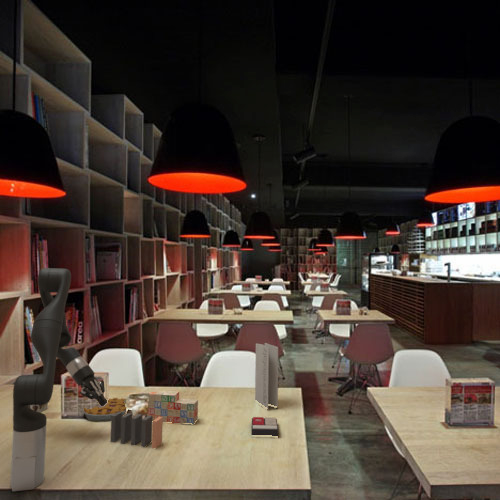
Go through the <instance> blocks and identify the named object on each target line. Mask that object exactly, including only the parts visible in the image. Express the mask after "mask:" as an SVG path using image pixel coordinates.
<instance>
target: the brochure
mask: <svg viewBox="0 0 500 500" xmlns="http://www.w3.org/2000/svg"><path fill="white" fill-rule="evenodd" d="M254 367H255V371H254V372H255V375H254V376H255V377H254V378H255V379H254V382H255V384H254V385H255V386H254V391H255V392H254V401H255V400H257V401H258V402H259V403H261V404H262V405H264V406H265V407H267V408H268V409H269V407H268V404H271V405H274V406H277V407H279V406H278V405H279V400H278V396H279V389H278V388H279V386H278V385H279V347H278V346H276V345H272V344H269V343H267V342H264V344H261V343H255V366H254Z"/></svg>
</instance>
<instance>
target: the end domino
mask: <svg viewBox="0 0 500 500" xmlns="http://www.w3.org/2000/svg"><path fill="white" fill-rule="evenodd" d="M163 425H164V424H163V417H158V418H156V419H155V420H153V422H152V442H151V448H152V449H154V448H156V447H157V448H158V447H159V446H161V445H162V444H163ZM161 443H162V444H161ZM160 444H161V445H160ZM157 448H156V449H157Z"/></svg>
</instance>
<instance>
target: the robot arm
mask: <svg viewBox="0 0 500 500" xmlns="http://www.w3.org/2000/svg"><path fill="white" fill-rule="evenodd" d="M37 276H38V277H37V287H38V292H39V295H40V298H41V303H42V304H43V305H42V306H43V309H42V310H41V311H40V312H39V313H38V314H37V316H36V317H35V318H34V320H33V325H32V329H31V334H30V340H31V343H32V346H33V348H35V351H36V352H37V354H38V356H39V358H40V360H41V363H42V366H43V372H42V373H41V374H40V373H39V374H37V373H36V374H22V375H21V374H20V375H18V377H16V379H15V381H14V384H13V389H12V403H13V404H12V408H13V409H12V412H13V413H12V423H13V424H12V440H11V441H12V445H11V446H12V447H11V463H10V464H11V466H10V489H11V491H12V492H18V491H21V492H22V491H28V490H31V491H32V490H35V488H37V487H39V486H40V485H42V484H43V483H44V481H45V468H46V467H45V466H46V465H45V462H46V441H47V439H46V438H47V423H48V422H47V416H46V414H44V413H42V412H37V411H34V410H32V409H31V408H29V407H28V405H41V404H47V403H49V402H51V399H52V396H53V392H54V384H55V375H56V365H57V359H58V360H60V362H61V363H62V364H63V365H64V367H65V368H66V370H67V372H68V374H69V375H70V376H71V378H72V379H73V381H74V382H75V383H76V385H77V386H80V387H81V390H80V391H79V394H80V395H81V396H84V397H86V398H88V399H90V400H95V401H96V400H97V401H98V402H99V404H100V405H101V406H104V405H105V404H106V403H107V400H106V399H107V398H106V397H105V396H104V393H105V391H106V388H105V381H104V380H101V381H100V380H98V379H97V378H96V376H95V374H96V373H95V371H94V370H93V369H92V367H91V366H90V365H89V363H88V362H87V361H86V360H85V359H84V358H83V356H82V355H81V354H80V352H79V351H78V350H77V349H76V348H75V347H73V346H72V347H67V348H64V347H66V346H67V345H70V343H71V341H72V335H71V333H70V330H69V329H68V325H67V319H66V317H67V316H66V312H65V309H66V308H65V307H66V303H67V300H68V296H69V291H70V287H71V283H72V273H71V270H69V269H67V268H57V267H56V268H55V267H54V268H51V267H44V268H41V269H40V270H39V272H38V275H37ZM52 293H56V295H55V296H53V295H52Z"/></svg>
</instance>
